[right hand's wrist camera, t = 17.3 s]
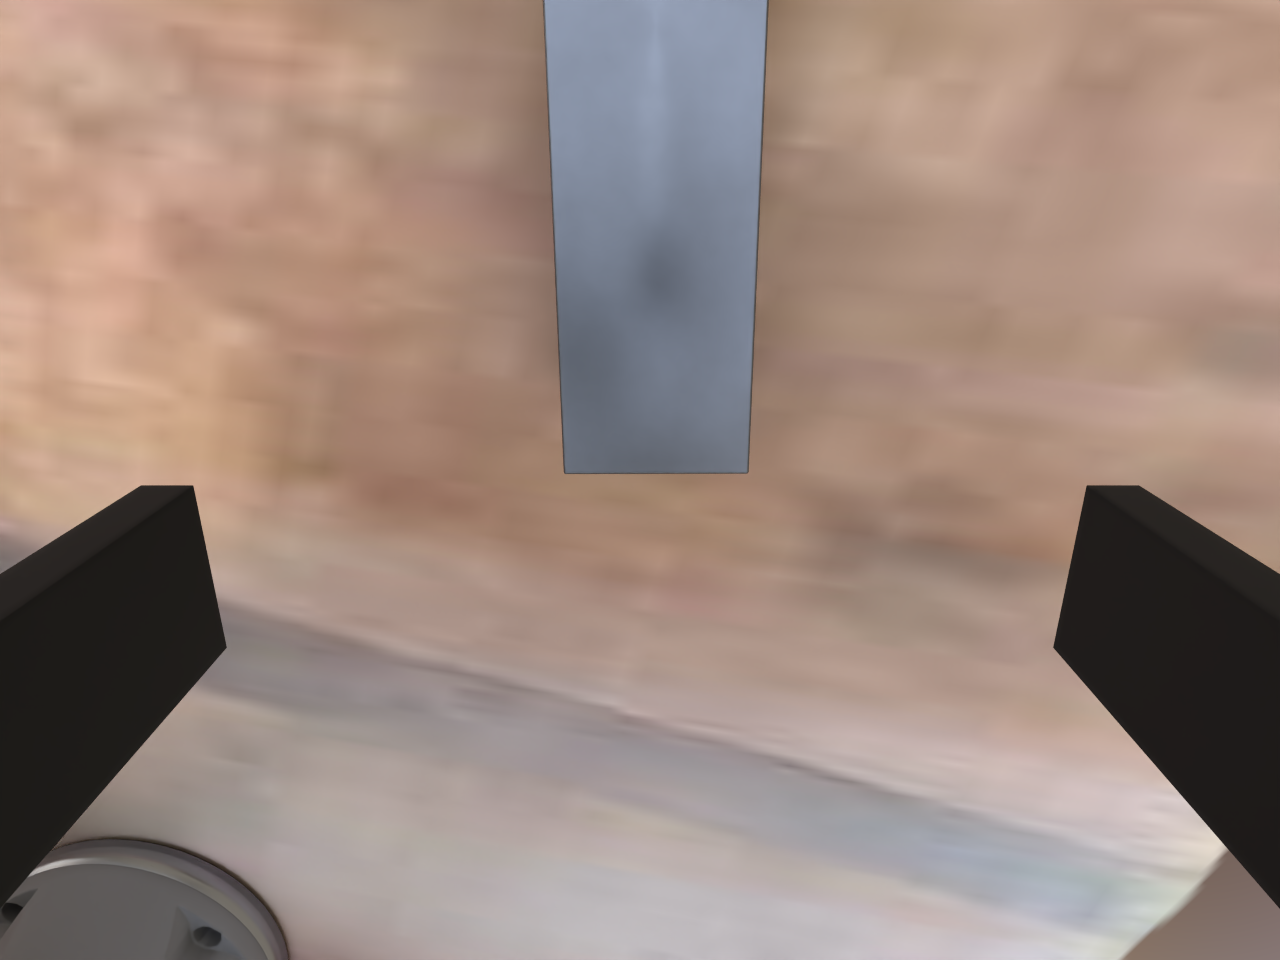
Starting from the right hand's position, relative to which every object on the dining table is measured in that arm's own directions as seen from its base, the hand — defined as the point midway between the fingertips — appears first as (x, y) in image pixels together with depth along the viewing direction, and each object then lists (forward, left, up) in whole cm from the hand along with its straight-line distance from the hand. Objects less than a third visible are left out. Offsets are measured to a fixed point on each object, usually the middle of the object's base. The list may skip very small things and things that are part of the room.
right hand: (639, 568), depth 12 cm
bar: (+9, +1, -21) cm, 23 cm away
